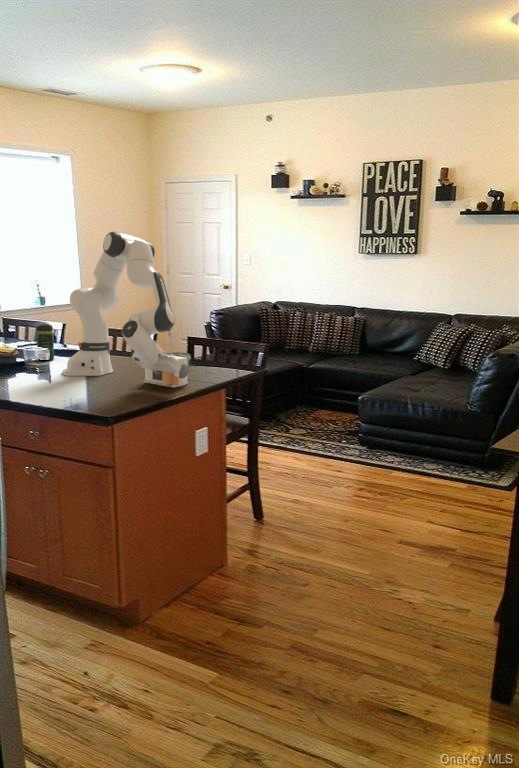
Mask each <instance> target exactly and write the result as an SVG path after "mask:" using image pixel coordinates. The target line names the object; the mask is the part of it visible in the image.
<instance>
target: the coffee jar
mask: <svg viewBox="0 0 519 768" xmlns="http://www.w3.org/2000/svg"><path fill="white" fill-rule="evenodd" d="M36 343H37V347H42V348H48V349H49V350H50V360H49V361H53V360H54V359H55V350H54V349H55V347H54V346H55V345H54V344H55V342H54V328H53V325H52V324H49V323H45V322H44V323H42V322H41V323H40V324H38V325H37V326H36Z"/></svg>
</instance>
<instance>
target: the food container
mask: <svg viewBox="0 0 519 768" xmlns="http://www.w3.org/2000/svg"><path fill="white" fill-rule="evenodd" d="M165 355H172V356H180V357H187V367H188V370H189V367H190V360H191V359H192V357H191V354H190V353H188V352H182V351H181V352H180V351H175V352H172V351H171V352H167V353H166V354H165ZM187 377H189V373H188V374H187Z"/></svg>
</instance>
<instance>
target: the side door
mask: <svg viewBox="0 0 519 768" xmlns="http://www.w3.org/2000/svg"><path fill="white" fill-rule="evenodd" d="M172 374H173V373H172V372H165V371H162V385H168V384H170V385H176V386H178V387H180V386H179V372H178V377H173V375H172Z"/></svg>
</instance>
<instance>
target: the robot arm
mask: <svg viewBox="0 0 519 768" xmlns="http://www.w3.org/2000/svg"><path fill="white" fill-rule="evenodd" d="M102 249H103V252H102V254H101V255H100V257H99V259H98V262H97V264H96V266H95V268H94V269H93V276H94V278H95V280H96V281H95V284H94V286H87V287H85V286H84V287H80V288H77V289H74V290H73V291H72V292H70V293H71V294H70V295H69V303H70V306H71V308H72V309H73V310H74V312H76V313H77V314H78V316H79V318H80V322H81V324H82V333H83V334H82V335H83V341H78V343H77V346H78V347H79V348H78V349H79V350H78V351H77V352H76V353H74V354H73V355H72V356H71V357H69V358H68V361H67V363H66V364H67V365H66V368H65V369H64V368H63V370H62V373H61V374H62V375H64V376H66V377H70V376H71V377H76V376H77V377H80V376H81V377H83V376H85V377H86V376H87V377H88V376H89V377H90V376H91V377H94V376H97V377H98V376H103V375H107V374H111V373H113V372H114V369H113V367H112V362H111V356H110V353H111V343H110V339H109V325H108V322H106V321H105V320H104V319H103V317H102V315H101V312H102V311H108V310H111V309H113V308H115V307H117V305H118V304H119V299H120V298H119V294H118V291H117V286H118V285H117V284H118V283H119V280H120V278H121V276H122V273H123V271H124V269H125V267H126V275H127V278H128V280H129V281H130V283H131V284H133V285H134V286H136V287H140V288H142V289H143V288H144V289H152V290H153V293H154V297H155V301H156V306H154V308H150V309H148V310H144V311H140V312H136V313H133V314H132V315H130V317H129V319H128V321H127V322H126V323H124V324H123V326H122V328H121V334H122V336H123V339H124V341H125V343H126V344H127V345H128V346H129V347H130V348H131V350H132V351H134V352H133V354H132V356H131V358H132V360H133V361H135V362H136V364H137V365H138V366H139V367H141V368H143V369H145V368H146V369H151V370H152V371H154V372H155V373H156V374H160V373H161V371H165V372H172V373H173V374H172V375H173V377H178V372H179V371H180V369H181V364H180V363H179V362H178V361H177V360H176V359H175V358H174V357H172V356H170V355H166V354H165V355H163V349H162V348H161V347H160V346H159V344H158V343H157V342H156V341H155V340H154V339H152V335H155V334H159V333H165V332H170V331H171V330H172V328H173V327H174V325H175V324H176V323H175V322H176V320H175V315H174V312H173V310H172V307H171V303H170V299H169V295H168V291H167V288H166V284H165V281H164V278H163V276H162V274H161V273H160V272H159V271H156V269H155V260H154V258H155V252H156V251H155V247H154V245H153V244H152V243H151V242H150V241H147V240H144V239H141V238H140V237H137V236H134V235H130V234H126V233H121V232H118V231H110V232H108V233H107V234H106V235H105V237H104V239H103V243H102Z"/></svg>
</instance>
